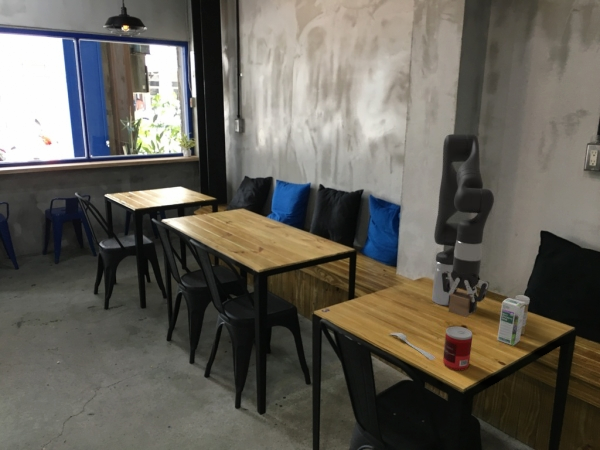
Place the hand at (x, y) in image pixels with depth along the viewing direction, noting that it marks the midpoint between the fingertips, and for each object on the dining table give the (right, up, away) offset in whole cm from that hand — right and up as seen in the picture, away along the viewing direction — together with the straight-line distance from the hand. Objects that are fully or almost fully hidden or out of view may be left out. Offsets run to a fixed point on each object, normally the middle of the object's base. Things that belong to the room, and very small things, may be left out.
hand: (461, 309), depth 143 cm
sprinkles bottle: (+29, -13, +27) cm, 42 cm away
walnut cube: (0, -1, 0) cm, 1 cm away
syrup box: (+23, -15, +20) cm, 34 cm away
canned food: (0, -18, +4) cm, 19 cm away
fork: (-12, -15, +16) cm, 25 cm away
